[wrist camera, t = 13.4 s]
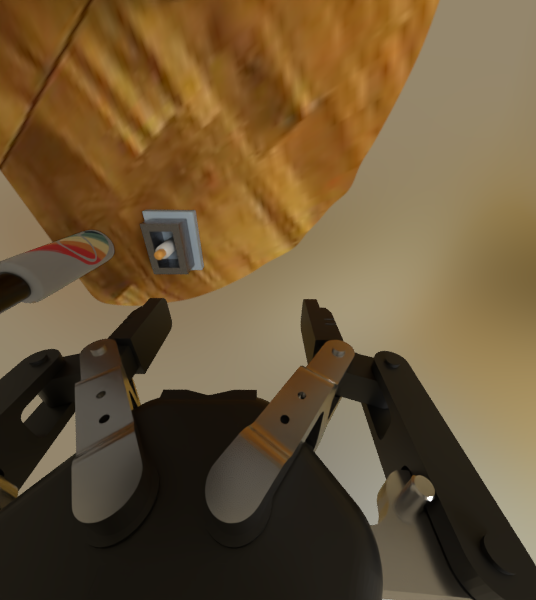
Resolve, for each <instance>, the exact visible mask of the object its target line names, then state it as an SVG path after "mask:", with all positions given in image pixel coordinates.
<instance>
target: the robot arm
mask: <svg viewBox="0 0 536 600" xmlns="http://www.w3.org/2000/svg"><path fill="white" fill-rule="evenodd" d="M171 327H172V320H171V316H170V312H169V308H168V305H167V301H166V299H164V298H150V299H149V300H148V301H147V302H146V303H145V304H144V305H143V306H141V307H139V308H138V309H136V310H134V311H133V312H132V313H131V314H130V315H129V316H128V317H127V319H125V320H124V321H123V323H122V324H121V325H120V326H119V327H118V328H117V329H116V330H115V331H114V332H113V333H112V335H111V336H110V337H109V338H108V339H102V340H98V341H95V342H93V343H91V344H89V345H87V346H86V347H85V348H84V349H83V350H82V351H81V353H80V354H75V355H70V356H65V357H62V355H61V353H60V352H59V351H58V350H55V349H48V350H43V351H40V352H37V353H34V354H32V355H30V356H29V357H27V358H25V359H24V360H23V361H21V362H20V363H19V364H18V365H17V366H15V367H14V368H13V369H12V370H11V371H10V372H8V373H7V374H6V375H5V376H4V377H3V378H1V379H0V600H382V599H393V600H536V566H535V564H534V562H533V560H532V559H531V557H530V555H529V554H528V552H527V551H526V549H525V547H524V546H523V544H522V543H521V541H520V539H519V538H518V537H517V535H516V533H515V532H514V530H513V528H512V527H511V526H510V524H509V522H508V520H507V519H506V517H505V516H504V514H503V513H502V511H501V509H500V508H499V506H498V505H497V503H496V501H495V500H494V498H493V497H492V495H491V494H490V492H489V490H488V489H487V487H486V486H485V484H484V483H483V481H482V479H481V478H480V476H479V474H478V473H477V471H476V470H475V468H474V467H473V465H472V463H471V462H470V460H469V459H468V457H467V455H466V454H465V452H464V451H463V449H462V448H461V446H460V444H459V443H458V441H457V440H456V438H455V436H454V435H453V433H452V432H451V430H450V429H449V427H448V425H447V424H446V422H445V421H444V419H443V417H442V416H441V414H440V413H439V411H438V409H437V408H436V406H435V405H434V403H433V402H432V400H431V398H430V397H429V395H428V394H427V392H426V390H425V389H424V387H423V386H422V384H421V383H420V381H419V380H418V378H417V376H416V375H415V373H414V371H413V370H412V368H411V367H410V365H409V364H408V362H407V361H406V360H405V359H404V358H403V357H401V356H400V355H398V354H395V353H392V352H389V351H380V352H378V353H376V354H375V357H374V358H372V357H368V356H364V355H360V354H357V353H355V352H354V349H353V348H352V347H351V346H350V345H349V344H347V343H346V342H344V341H343V339H342V336H341V334H340V332H339V329H338V327H337V325H336V322H335V321H334V318H333V315H332V313H331V312H330V311H329V310H328V309H326V308H320V307H319V304H318V302H317V300H316V299H304V300H303V305H302V316H301V333H302V338H303V343H304V348H305V353H306V358H307V362H308V365H307V366H306V367H304V366H300V367H299V368H298V369H297V370H296V372H295V373H294V374H293V375H292V377H291V378H290V379H289V380H288V381H287V383H286V384H285V385H284V386H283V387H282V389H281V390H280V391H279V392H278V393H277V395H276V396H275V397H274V398H273V400H272V401H271V402H268V401H266V400H264V399H261V398H257V390H231V391H227V392H222V393H217V394H213V395H205V394H201V393H197V392H193V391H189V390H163V392H162V394H161V396H160V398H157V399H154V400H151V401H148V402H146V403H144V404H142V405H141V403H140V400H139V397H138V393H137V390H136V386H135V383H134V380H133V378H132V377H133V376H134V375H135V374H145V373H146V371H147V369H148V368H149V366H150V364H151V363H152V361H153V359H154V358H155V356H156V354H157V352H158V351H159V349H160V347H161V346H162V344H163V342H164V341H165V339H166V337H167V335H168V334H169V332H170V330H171ZM37 394H38V395H39V397H40V398H41V399H42V400H43V402H42V403H41V404H40V405H39V406H38V407H37V408H36V410H35V411H34V412H33V413H32V414H31V415H30V416H29V417H28V419H27V420H26V421H25V422H24V423H23V422H22V421H21V414H22V411H23V410H24V408H25V407H26V406H27V405H28V404H29V403H30V402H31V401H32V400H33V399H34V397H35V396H36V395H37ZM342 397H345V398H348V399H351V400H355V401H358V402H361V404H362V407H363V410H364V413H365V416H366V419H367V422H368V425H369V428H370V431H371V434H372V437H373V440H374V444H375V447H376V449H377V453H378V456H379V459H380V462H381V465H382V468H383V471H384V474H385V477H386V481H385V483H384V484H383V486H382V487H381V489H380V490H379V492H378V495H377V506H378V512H379V520H378V524H376V525H369V523H368V521H367V519H366V517H365V515H364V514H363V512H362V511H361V509H360V508H359V506H358V505H357V504H356V502H354V500H353V499H352V498H351V497H350V495H349V494H348V493H347V492H346V490H345V489H344V488H343V487H342V485H341V484H340V483H339V482H338V481H337V479H336V478H335V477H334V476H333V474H332V473H331V472H330V471H329V470H328V468H327V467H326V466H325V465H324V463H323V462H322V461H321V460H320V458H319V457H318V456H317V455H316V454H315V451H316V449H317V447H318V445H319V443H320V441H321V439H322V437H323V434H324V432H325V429H326V427H327V424H328V423H329V421H330V419H331V417H332V415H333V413H334V411H335V410H336V407H337V406H338V404H339V402H340V400H341V398H342ZM74 413H75V415H76V416H75V419H76V453H75V454H74V455H73V456H71V457H70V458H69V459H67V460H66V461H65V462H63V463H62V464H61V465H59V466H58V467H57V468H55V469H54V470H53V471H51V472H50V473H49V474H47V475H46V476H45V477H43V478H42V479H41V480H39V481H38V482H37V483H35V484H34V485H33V486H31V487H30V488H29V489H27V490H26V491H25V492H24V493H22V494H21V495H20V496H18V491H19V489H20V488H21V487H22V485H23V484H24V482H25V481H26V480H27V478H28V477H29V475H30V474H31V473H32V471H33V470H34V468H35V467H36V466H37V464H38V463H39V461H40V460H41V459H42V457H43V456H44V455H45V453H46V452H47V450H48V449H49V448H50V446H51V445H52V443H53V442H54V440H55V439H56V438H57V436H58V435H59V433H60V432H61V431H62V429H63V428H64V427H65V425H66V424H67V422H68V421H69V420H70V418H71V417H72V415H73V414H74ZM17 496H18V497H17Z"/></svg>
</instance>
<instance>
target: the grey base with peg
mask: <svg viewBox="0 0 536 600" xmlns="http://www.w3.org/2000/svg"><path fill="white" fill-rule="evenodd" d="M142 212H143V216H144V220H145V221H147V220H149V219H151V218H187V223H188V229H189V235H190V240H191V246H192V252H193V257H194V263H195V265H194V267H193V268H192V269H191V270H202V269H203V267H204V264H203V257H202V251H201V244H200V237H199V231H198V224H197V218H196V211H195V210H145V211H142ZM162 234H163V238H164V243H162V244H161V245H159V246H158V247H157V248H156V250H155V253H154V257H155V258H156V259H157V260H161V259H166V258H168V259H178V256H177V252H176V247H175V242H174V238H173V233H172V232H162Z"/></svg>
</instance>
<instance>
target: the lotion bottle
mask: <svg viewBox="0 0 536 600" xmlns="http://www.w3.org/2000/svg"><path fill="white" fill-rule="evenodd" d="M113 255H114V246H113V244H112V242H111V240H110V239H109V238H108V237H107V236H106V235H104V234H103V233H101V232H99V231H96V230H87V231H83V232H80V233H77V234H75V235H72V236H69V237H66V238H64V239H61V240H58V241H55V242H52V243H50V244H47V245H44V246H41V247H38V248H36V249H33V250H30V251H28V252H25V253H22V254H19V255H16V256H13V257H11V258H8V259H5V260H3V261H0V314H1V313H2V312H4V311H6V310H8V309H10V308H11V307H13V306H15V305H17V304H18V303H20V302H24V303H36V302H39V301H41V300H43V299H45V298H46V297H48V296H50V295H51V294H53V293H55V292H56V291H58V290H60V289H62V288H63V287H65V286H66V285H68V284H70V283H71V282H73V281H75V280H76V279H78V278H80V277H82V276H83V275H85V274H87V273H88V272H90V271H92V270H93V269H95V268H97V267H98V266H100V265H102V264H103V263H105V262H107V261H108V260H109V259H111V258H112V257H113Z"/></svg>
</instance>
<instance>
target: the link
mask: <svg viewBox="0 0 536 600" xmlns="http://www.w3.org/2000/svg"><path fill="white" fill-rule="evenodd" d="M140 227H141V230H142V234H143V237H144V241H145V244H146V248H147V251H148V255H149V258H150V262H151V265H152V269H153V272H154V274H189V272H190V271H191V269H192V268H193V267H194V265H195V263H194V257H193V252H192V246H191V240H190V235H189V229H188V223H187V218H151V219H149V220H147V221H145V222H143V223H140ZM162 232H172V233H173V238H174V242H175V247H176V252H177V256H178V259H168V258H166V259H161V260H157V259H156V258H155V257H154V253H155V250H156V248H157V247H158V246H159V245H161V244H162V243H164V238H163V234H162Z"/></svg>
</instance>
